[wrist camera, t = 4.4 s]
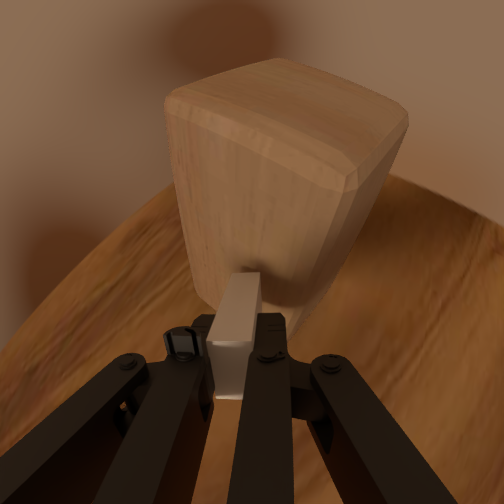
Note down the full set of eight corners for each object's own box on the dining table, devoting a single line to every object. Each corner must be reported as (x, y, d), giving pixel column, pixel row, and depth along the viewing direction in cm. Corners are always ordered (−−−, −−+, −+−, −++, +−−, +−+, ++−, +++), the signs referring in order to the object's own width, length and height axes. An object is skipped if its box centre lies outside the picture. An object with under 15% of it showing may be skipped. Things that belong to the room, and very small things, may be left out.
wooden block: (256, 234, 32) (276, 52, 16) (332, 285, 29) (416, 107, 13) (192, 294, 28) (153, 90, 11) (273, 360, 24) (355, 178, 8)
